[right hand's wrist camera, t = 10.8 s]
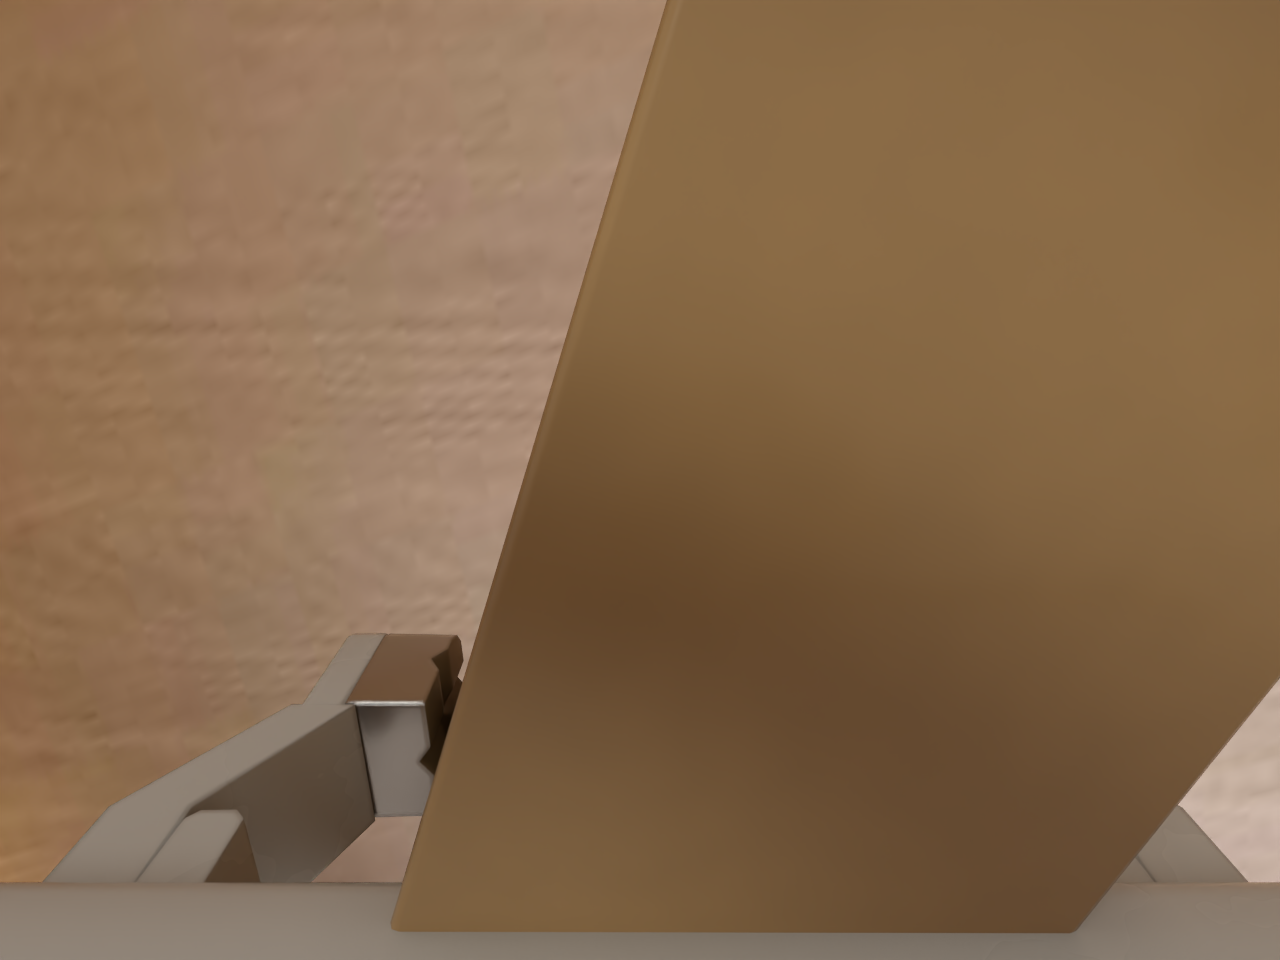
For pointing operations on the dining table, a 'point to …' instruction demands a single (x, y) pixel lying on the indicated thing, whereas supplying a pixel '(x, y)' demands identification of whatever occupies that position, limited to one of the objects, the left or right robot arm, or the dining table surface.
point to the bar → (887, 481)
